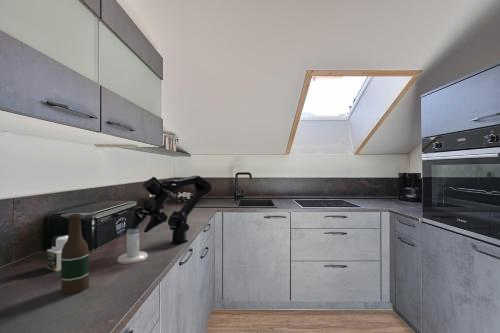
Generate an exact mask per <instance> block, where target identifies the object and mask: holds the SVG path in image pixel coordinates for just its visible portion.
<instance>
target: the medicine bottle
mask: <svg viewBox="0 0 500 333" xmlns="http://www.w3.org/2000/svg"><path fill="white" fill-rule="evenodd" d="M67 240H68V234H62V235H56V236H54V237H53V238H52V239H51V248H49V249H46V268H47V269H49V270H52V271H54V272H61V254H62V249H63V246H64V244H65V243H66V241H67Z"/></svg>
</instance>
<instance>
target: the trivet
mask: <svg viewBox="0 0 500 333" xmlns="http://www.w3.org/2000/svg"><path fill="white" fill-rule="evenodd" d="M148 258H149V254H148V253H147V252H146V251H141V250H139V256H137V257H134V258H128V257H127V252H125V253H123V254H121V255H119V257H118V258H117V260H116V262H117V263H118V264H121V265H132V264H133V265H134V264H137V263H141V262H144V261H146V260H148Z"/></svg>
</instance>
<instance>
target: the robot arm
mask: <svg viewBox="0 0 500 333" xmlns="http://www.w3.org/2000/svg"><path fill="white" fill-rule="evenodd" d="M190 185H193V186H194V193H193V194H192V195H191V196H190V197H189V198H188V200H187V201H186V202H185V203H184V205H183V206H182V208H180V209H179V211H177V210H173V212H172V213H171V215H169V216H168V215H167V214H166V213H165V212H164V211H163V210H164V208H165V206H164V205H165V203H166V202H167V201H168V200H169V201H170V200H173V196H172V193H175V192H177V191H179V190H180V189H181V188H182V187H187V186H190ZM212 187H213V186H212V184H211V183H210V182H208V181H207V180H206V179H203V178H202V177H201V176H200V175H191V176H188V177H183V178H179V179H164V180H162V182H160V181H159V180H158V178H156V176H152V177H151V178H149V179H148V180H146V181H144V182H143V184H142V188H143V189H144V190H145V191H146V192H147V193H148V194H149V195H151V196H153V198H152V197H147V198H142V197H137V201H136V204H135V205H136V206H135V207H132V209H131V210H130V211H131V213H132V215H133V219H132V222H131V224H130V225H131V226H130V229H135V228H137V227H138V226H139V225H140V224H141V223H142V222H143V221H145V218H146V217H150V219H149V221H148V223H147V225H146V226H145V228H144V230H143V232H144V233H145V234H146V233H148V232H149V231H151V230H153V229H154V228H156V227H157V226H159V225H161V224H163V223H166V222H167V225H168V227H169V229H170V231H172V241H170V244H176V245H182V244H185V243H187V242H188V241H189V239H187V232H188V231H189V230H190V225H189V224H188V223H187V222H188V216H189V215H190V214H191V212H192V211H193V210H194V208H195V207H196V206H197V204H198V203H199V202H200V201H201V199H202V198H203V197H205V196H207V195H209V194H210V193H211V191H212ZM170 192H171V193H170ZM138 206H140V207H138ZM141 207H142V208H141ZM168 217H169V218H168Z"/></svg>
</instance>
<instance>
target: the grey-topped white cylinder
mask: <svg viewBox="0 0 500 333" xmlns="http://www.w3.org/2000/svg"><path fill="white" fill-rule="evenodd" d="M139 251H140V228H137V227H135V228H134V229H126V253H127V257H128V258H134V257H137V256H139Z"/></svg>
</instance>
